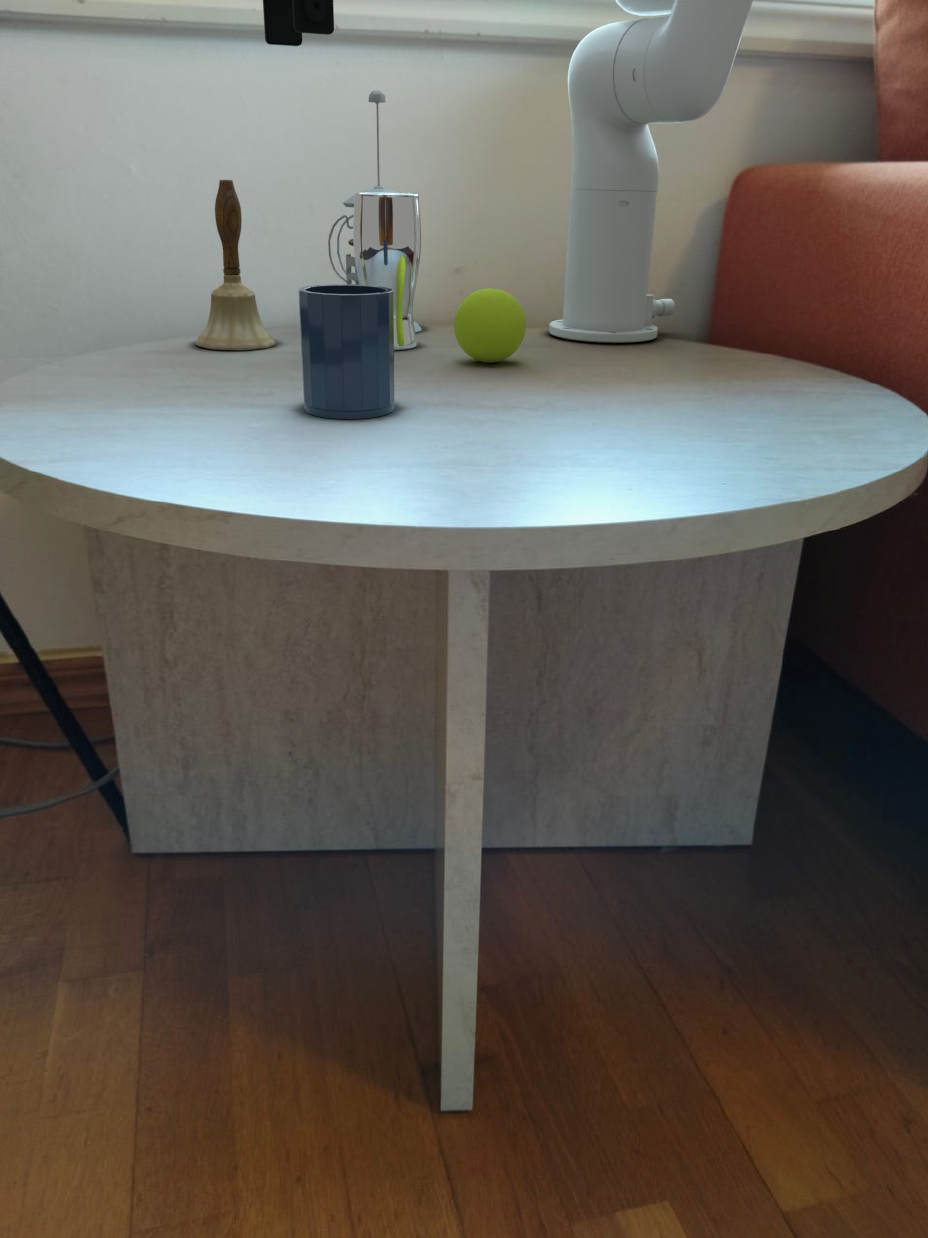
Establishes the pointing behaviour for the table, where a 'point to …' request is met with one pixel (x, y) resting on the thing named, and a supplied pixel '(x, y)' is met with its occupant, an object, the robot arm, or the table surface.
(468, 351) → the ball
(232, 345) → the hand bell
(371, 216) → the beer glass
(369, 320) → the cup
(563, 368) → the table surface
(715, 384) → the table surface
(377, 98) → the french press
